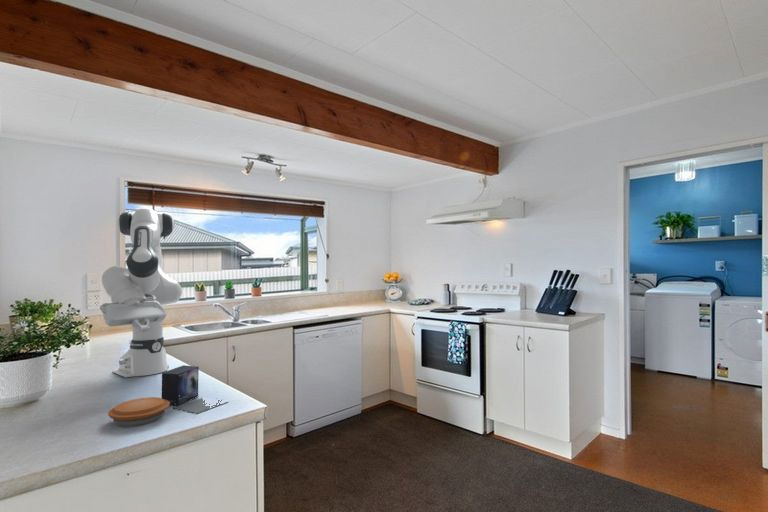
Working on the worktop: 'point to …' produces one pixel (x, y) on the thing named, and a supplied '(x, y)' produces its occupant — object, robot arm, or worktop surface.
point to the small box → (180, 384)
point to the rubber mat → (194, 406)
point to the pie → (138, 411)
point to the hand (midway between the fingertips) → (145, 330)
